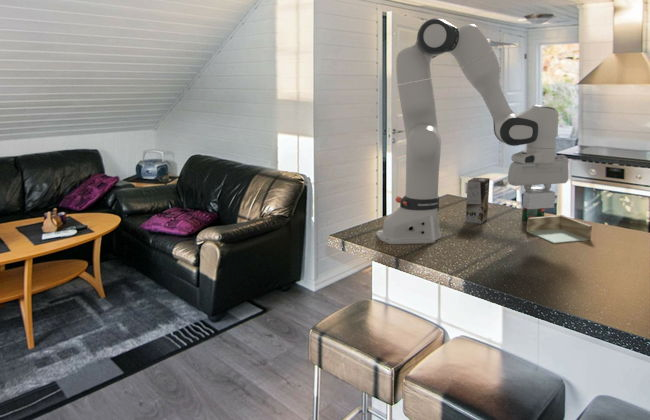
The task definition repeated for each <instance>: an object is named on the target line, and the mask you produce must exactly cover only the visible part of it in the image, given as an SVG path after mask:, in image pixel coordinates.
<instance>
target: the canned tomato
mask: <svg viewBox="0 0 650 420" xmlns="http://www.w3.org/2000/svg"><path fill="white" fill-rule="evenodd" d="M545 211H546V208H540V209H527V208H524V207H522V211H521V212H522V214H521V222H522V223H524V224H527V220H528V218H533V217H545Z"/></svg>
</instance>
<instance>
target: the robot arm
mask: <svg viewBox="0 0 650 420" xmlns="http://www.w3.org/2000/svg"><path fill="white" fill-rule="evenodd" d="M446 53H448V54H450V55H452V56H453V57H454V58H455V60H456V61H457V64H458V65H459V67H460V70H461V71H462V73H463V75H464V77H465V78H466V79H467V81H468V82H469V83H470V84H471V85H472V86H473V88H474V89H475V90H476V91H477V92H478V93H479V94H480V95H481V97H482V98H483V102H484V103H485V105H486V108H487V109H488V110H489V112H490V115H491V117H492V120H493V133H494V135H495V137H496V138H497V140H498V141H499V142H501V143H503V144H505V145H507V146H510V147H511V146H512V147H516V146H522V145H526V149H523V150H522V151H518V152H517V153H514V154H512V155H511V157H510V159H511V161H512V162H511V163H510V165H509V168H508V173H507V174H508V175H507V182H508V184H509V185H510V186H514V187H517V186H518V187H519V186H522V187H523V188H524V190H525V191H531V190H530V188H531V187H533V186H535V185H538V186H539V185H540V186H541V185H543V188H544V189H547V190H550V191H551V188H552V185H557V184H567V182H568V180H569V158H568V157H567V156H566V155H565V154H561V155H559V154H558V155H557V154H556V152H557V145H556V140H557V135H558V132H559V113H558V110H557V109H555V108H554V107H552V106H549V105H542V104H534V105H532V106H530V107H529V108H528V109H526V110H523V111H521V112H519V113H516V112H514V111H513V110H512V109H511V107H510V105H509V103H508V101H507V98H506V97H505V94H504V93H503V91H502V88H501V84H500V77H501V67H500V63H499V61H498V60H499V59H498V57H497V55H496V53H495V51H494V49H493V47H492V45H491V43H490V42H489V40H488V39H487V37H486V35H485V34H484V33H483V32H482V30H481V29H480V27H478V26H477V25H475V24H472V23H471V24H470V23H469V24H464V25H462V26H460V27H457V26H455V25H453V24H451V23H450V22H449V21H446V20H445V19H442V18H436V17H435V18H430V19H427V20H426V21H425V22H423V23H422V25H421V26H420V27H419V28H418V32H417V36H416V41H415V43H414V44H413V45H412V46H408V47H405V48H403V49H401V50H400V51H399V52H398V53H397V56H396V61H395V62H396V68H395V70H396V81H397V88H398V95H399V101H400V107H401V109H400V110H401V113H402V119H403V126H404V132H405V139H406V146H405V147H406V149H405V150H406V151H405V153H406V159H405V165H406V166H405V195H404V196H403V197H400V196H396V197H395V199H394V200H395V201H396V203H399V205H400V206H399V207H398V208H396V209H395V210H394V211H393V212H392V213H390V214H388V216H386V217H385V218H384V220H383V225H382V229H380V230H378V231H376V235H375V236H376V238H377V239H378V240H380V241H381V242H383V243H386V244H389V245H404V244H405V245H407V244H434V243H435V242H436V241H437V240H439V239H441V237H442V233H441V228H440V222H439V211H440V196H439V175H440V164H441V163H440V162H441V151H442V150H441V149H442V148H441V147H442V138H441V134H440V133H439V129H438V120H437V111H436V101H435V95H434V87H433V81H432V74H431V61H432V59H434V58H436V57H438V56H441V55H443V54H446Z"/></svg>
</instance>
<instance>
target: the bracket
mask: <svg viewBox="0 0 650 420" xmlns="http://www.w3.org/2000/svg"><path fill="white" fill-rule="evenodd" d="M530 190H531V191H526V190H525V191H523V196H522V208H523V207H524V208H527V209H540V208H545V209H550V208H551V209H552V208H553V209H554V208H555V201H556V192H555V191H553V190H551V189H550V190H547V189H544V187H540V186H532V187H531V188H530Z"/></svg>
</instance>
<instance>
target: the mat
mask: <svg viewBox="0 0 650 420" xmlns="http://www.w3.org/2000/svg"><path fill="white" fill-rule="evenodd" d="M528 233H529V234H531V235H534V236H535V237H537V238H540V239H542V240H545V241H546V242H549V243H552V244H553V245H554V244H555V245H556V244H565V243H573V242H574V243H576V242H586V241H587V242H588V241H589V240H588V239H585V238H583V237H580V236H578V235H575V234H573V233H570V232H568V231H565V230H563V229H549V230H538V231H529V232H528Z"/></svg>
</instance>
